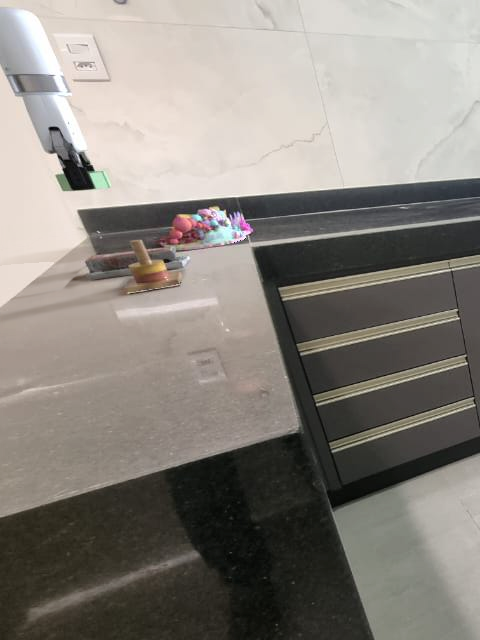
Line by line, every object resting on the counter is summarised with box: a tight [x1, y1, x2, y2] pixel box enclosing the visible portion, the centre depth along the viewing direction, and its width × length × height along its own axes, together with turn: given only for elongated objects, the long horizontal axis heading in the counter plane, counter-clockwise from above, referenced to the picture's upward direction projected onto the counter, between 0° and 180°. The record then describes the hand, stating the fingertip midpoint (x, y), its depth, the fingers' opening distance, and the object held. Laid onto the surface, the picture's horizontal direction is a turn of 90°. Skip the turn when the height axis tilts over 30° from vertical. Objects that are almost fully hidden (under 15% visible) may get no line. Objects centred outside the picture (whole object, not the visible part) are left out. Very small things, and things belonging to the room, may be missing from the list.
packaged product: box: [84, 247, 191, 281], centre depth 129 cm, size 18×5×10 cm
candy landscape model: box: [155, 205, 254, 252], centre depth 158 cm, size 25×24×9 cm
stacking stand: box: [123, 239, 183, 294], centre depth 114 cm, size 9×9×10 cm
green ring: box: [54, 170, 113, 192], centre depth 104 cm, size 7×7×3 cm
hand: (87, 187), depth 105 cm, fingers closed on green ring, 7 cm apart
